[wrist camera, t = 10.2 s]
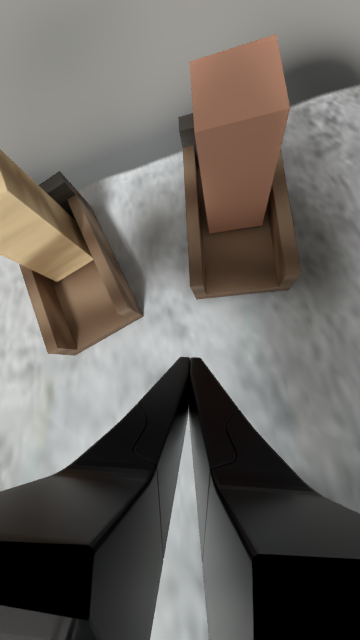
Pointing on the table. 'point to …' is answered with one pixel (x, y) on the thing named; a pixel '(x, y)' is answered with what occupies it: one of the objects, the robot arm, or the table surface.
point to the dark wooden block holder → (237, 237)
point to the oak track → (81, 285)
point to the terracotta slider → (239, 130)
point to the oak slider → (37, 227)
